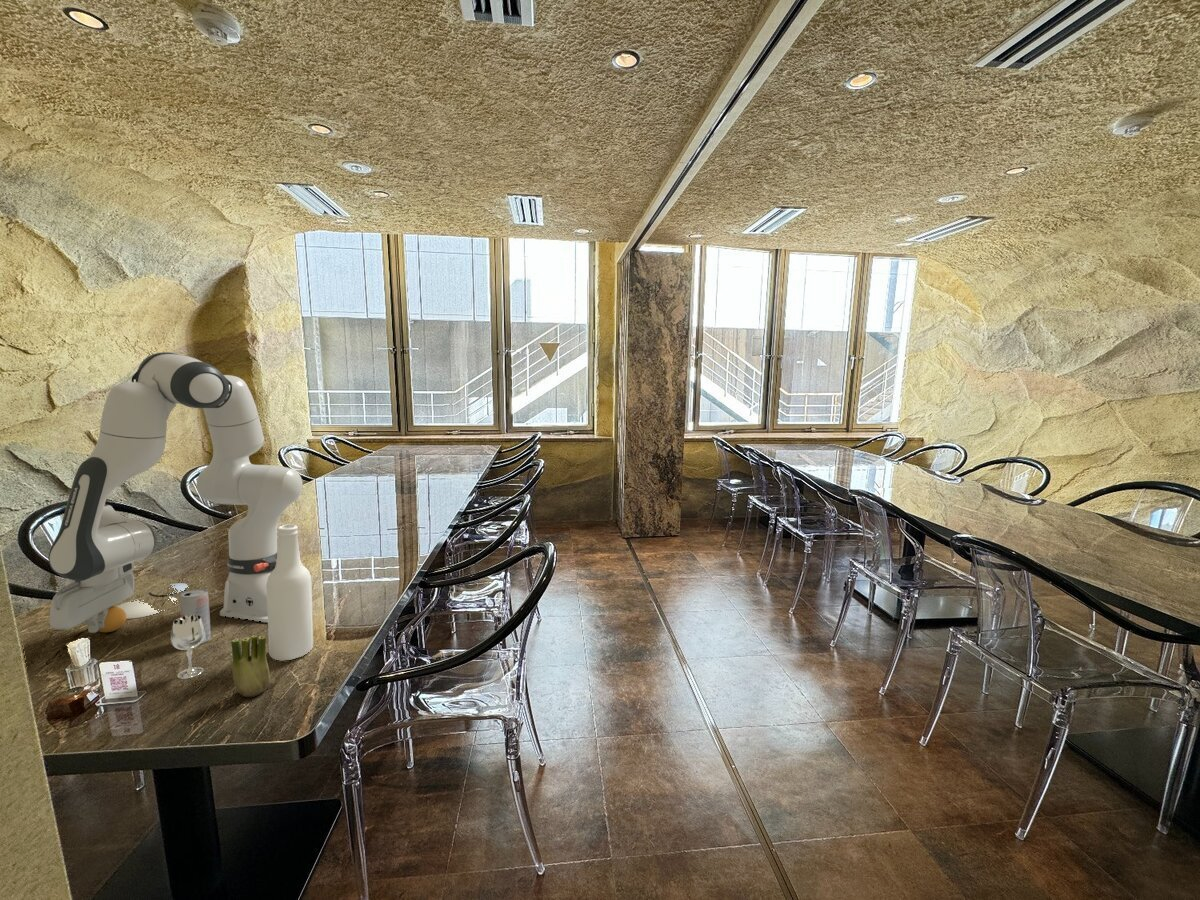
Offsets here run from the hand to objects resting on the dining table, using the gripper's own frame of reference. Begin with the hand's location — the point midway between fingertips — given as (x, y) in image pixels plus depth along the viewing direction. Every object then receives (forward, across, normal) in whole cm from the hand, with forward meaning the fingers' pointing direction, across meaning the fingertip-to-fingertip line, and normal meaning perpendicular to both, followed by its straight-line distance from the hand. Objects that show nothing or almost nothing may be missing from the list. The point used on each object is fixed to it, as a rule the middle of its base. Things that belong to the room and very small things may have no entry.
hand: (96, 630), depth 124 cm
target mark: (+2, +18, +1) cm, 18 cm away
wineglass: (+2, -17, -29) cm, 34 cm away
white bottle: (+2, -9, -46) cm, 47 cm away
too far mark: (+2, +30, +2) cm, 30 cm away
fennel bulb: (+2, -25, -45) cm, 52 cm away
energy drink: (+2, -2, -22) cm, 23 cm away
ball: (-1, +4, 0) cm, 4 cm away
